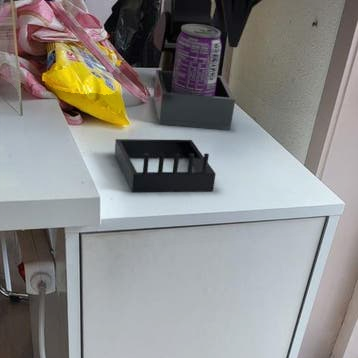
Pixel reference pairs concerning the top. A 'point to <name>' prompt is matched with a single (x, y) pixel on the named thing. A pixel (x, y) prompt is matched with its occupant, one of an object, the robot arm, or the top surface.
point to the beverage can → (197, 60)
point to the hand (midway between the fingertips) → (228, 39)
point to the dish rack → (160, 179)
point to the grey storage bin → (193, 105)
